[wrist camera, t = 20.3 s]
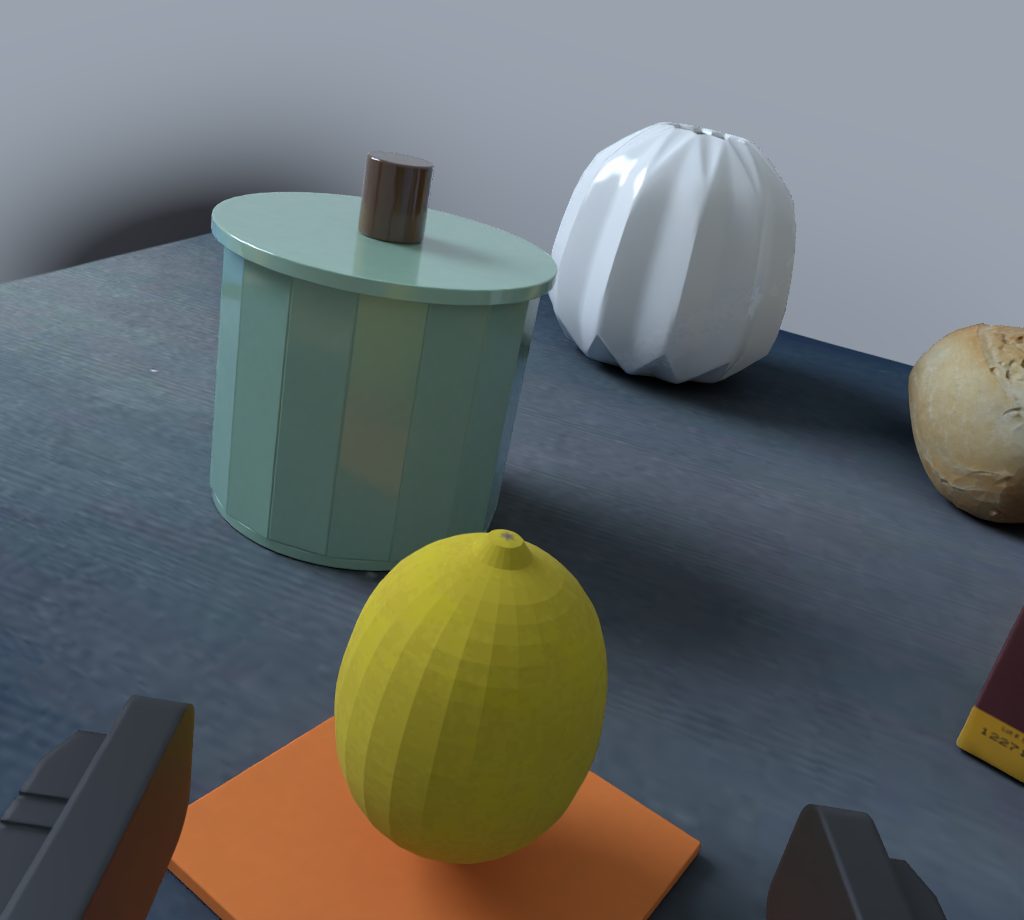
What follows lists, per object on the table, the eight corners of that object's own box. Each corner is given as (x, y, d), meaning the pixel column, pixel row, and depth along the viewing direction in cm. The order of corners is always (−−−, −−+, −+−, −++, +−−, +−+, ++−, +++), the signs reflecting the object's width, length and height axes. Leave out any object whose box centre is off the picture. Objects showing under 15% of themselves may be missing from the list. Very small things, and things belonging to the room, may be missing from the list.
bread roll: (1040, 451, 56) (1100, 322, 53) (1111, 569, 43) (1197, 406, 40) (875, 407, 58) (923, 279, 55) (894, 507, 45) (958, 346, 42)
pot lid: (396, 348, 25) (416, 213, 24) (134, 230, 31) (137, 113, 29) (612, 300, 34) (636, 198, 33) (379, 215, 40) (391, 124, 38)
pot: (356, 608, 30) (398, 318, 26) (149, 475, 35) (158, 215, 31) (544, 512, 38) (597, 281, 34) (354, 416, 43) (382, 204, 39)
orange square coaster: (468, 1152, 16) (471, 1139, 16) (142, 846, 20) (143, 832, 20) (697, 854, 23) (702, 842, 23) (419, 672, 27) (421, 660, 27)
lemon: (581, 952, 20) (683, 634, 16) (307, 946, 19) (357, 605, 15) (541, 758, 25) (614, 483, 21) (322, 745, 24) (362, 454, 20)
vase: (496, 319, 60) (538, 93, 54) (671, 323, 67) (724, 123, 61) (617, 411, 49) (685, 143, 44) (809, 405, 56) (890, 172, 51)
